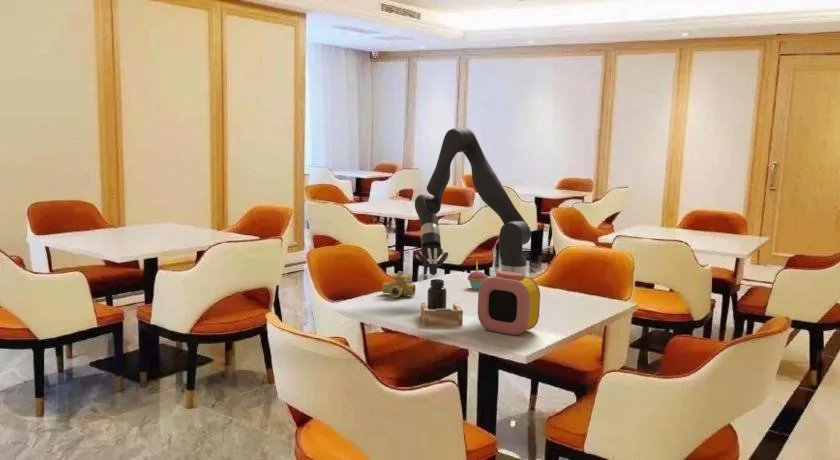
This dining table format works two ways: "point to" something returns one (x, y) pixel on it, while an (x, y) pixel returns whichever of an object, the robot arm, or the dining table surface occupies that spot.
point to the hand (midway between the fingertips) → (433, 274)
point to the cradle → (442, 315)
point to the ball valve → (399, 286)
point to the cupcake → (476, 278)
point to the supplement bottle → (436, 295)
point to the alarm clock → (508, 303)
